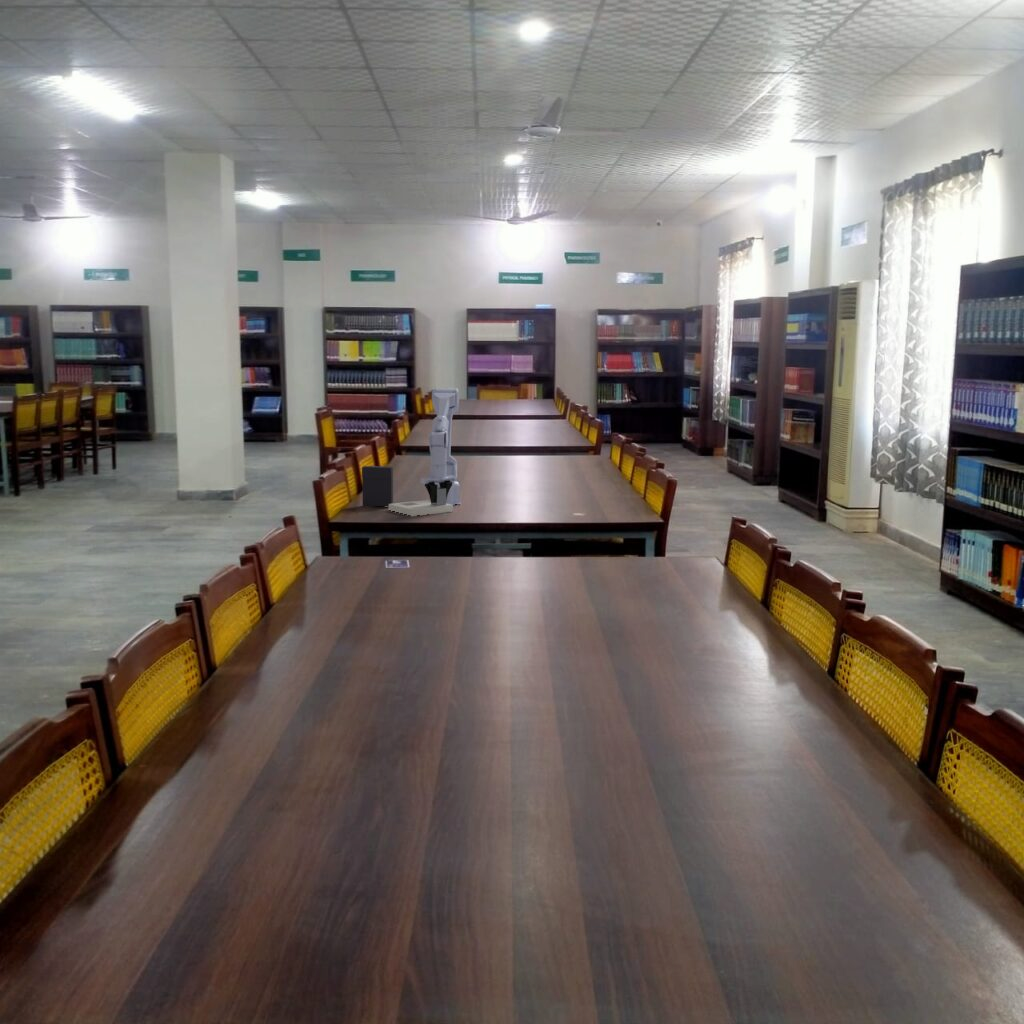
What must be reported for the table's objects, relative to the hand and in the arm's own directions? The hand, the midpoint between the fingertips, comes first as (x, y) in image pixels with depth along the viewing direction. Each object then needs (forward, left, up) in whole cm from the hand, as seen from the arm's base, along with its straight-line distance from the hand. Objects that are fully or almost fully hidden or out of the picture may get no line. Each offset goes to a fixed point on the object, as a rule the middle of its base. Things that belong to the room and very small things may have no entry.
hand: (438, 502), depth 352 cm
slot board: (+5, -4, -3) cm, 7 cm away
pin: (0, 0, -1) cm, 1 cm away
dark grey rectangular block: (+12, -22, -4) cm, 25 cm away
